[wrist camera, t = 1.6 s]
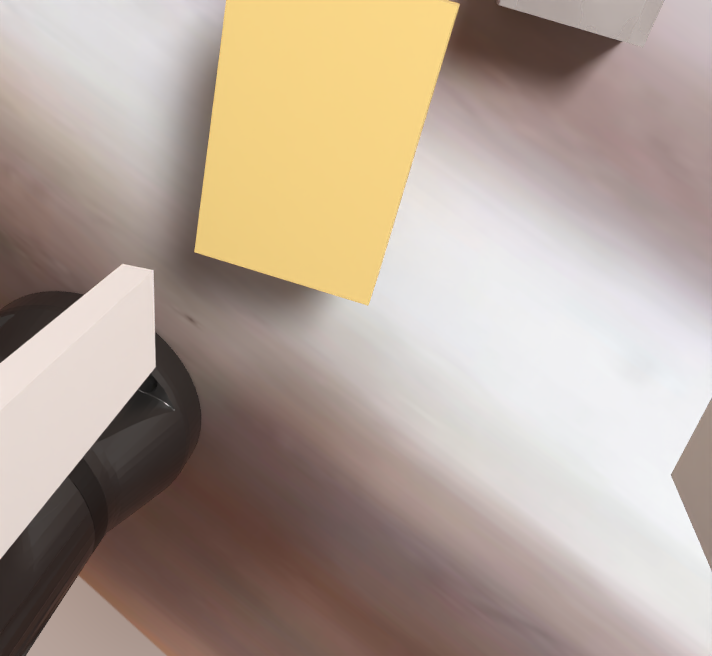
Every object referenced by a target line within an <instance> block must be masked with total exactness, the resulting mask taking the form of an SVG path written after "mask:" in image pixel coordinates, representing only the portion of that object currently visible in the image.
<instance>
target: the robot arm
mask: <svg viewBox="0 0 712 656" xmlns="http://www.w3.org/2000/svg"><path fill="white" fill-rule="evenodd" d="M200 428H201V410H200V404H199V399H198V395H197V392H196V389H195V387H194V384H193V382H192V379H191V377H190V375H189V373H188V372H187V370H186V368H185V367H184V365H183V363H182V362H181V360H180V359H179V358H178V356H177V355H176V354H175V352H174V351H173V350H172V349H171V348H170V346H169V345H168V344H167V343H166V342H165V341H164V340H163V339H162V338H161V337H160V336H159V335H158V334H157V333H156V332H155V314H154V270H150V269H145V268H140V267H135V266H130V265H125V264H122V265H120V266H119V267H118V268H117V269H116V270H114V271H113V272H112V273H111V274H109V275H108V276H107V277H106V278H105V279H103V280H102V281H101V282H100V283H98V284H97V285H96V286H95V287H93V288H92V289H91V290H90V291H89V292H87V293H86V294H85V295H82V294H77V293H71V292H60V291H51V292H40V293H35V294H31V295H27V296H24V297H21V298H19V299H17V300H15V301H13V302H11V303H10V304H8V305H6V306H5V307H4V308H2V309H1V310H0V656H26V654H27V653H28V651H29V650H30V648H31V647H32V645H33V644H34V642H35V640H36V639H37V637H38V636H39V634H40V633H41V631H42V630H43V628H44V627H45V625H46V623H47V622H48V620H49V619H50V618H51V616H52V614H53V613H54V611H55V610H56V608H57V607H58V605H59V604H60V602H61V601H62V599H63V598H64V596H65V595H66V593H67V591H68V590H69V588H70V587H71V585H72V584H73V582H74V581H75V579H76V578H77V576H78V575H79V573H80V572H81V570H82V569H83V567H84V565H85V564H86V562H87V561H88V559H89V558H90V556H91V555H92V553H93V552H94V550H95V549H96V547H97V546H98V544H99V543H100V541H101V540H102V539H103V537H104V536H105V534H106V533H107V532H109V531H110V530H111V529H113V528H114V527H115V526H117V525H118V524H119V523H121V522H122V521H123V520H125V519H126V518H127V517H129V516H130V515H131V514H133V513H134V512H135V511H137V510H138V509H139V508H141V507H142V506H143V505H145V504H146V503H147V502H149V501H150V500H151V499H152V498H154V497H155V496H156V495H158V494H159V493H160V492H162V491H163V490H164V489H166V488H167V487H168V486H169V485H170V484H171V483H172V482H173V481H174V480H175V478H176V477H177V476H178V475H179V473H180V472H181V470H182V469H183V467H184V465H185V464H186V462H187V460H188V459H189V457H190V455H191V454H192V452H193V450H194V448H195V446H196V444H197V441H198V438H199V434H200ZM671 476H672V479H673V481H674V483H675V486H676V488H677V490H678V493H679V495H680V497H681V500H682V502H683V504H684V507H685V509H686V511H687V514H688V516H689V519H690V521H691V523H692V526H693V528H694V530H695V533H696V535H697V537H698V540H699V542H700V544H701V547H702V549H703V551H704V554H705V556H706V558H707V561H708V563H709V565H710V568H711V570H712V399H711V400H710V402H709V404H708V406H707V408H706V410H705V412H704V414H703V415H702V417H701V419H700V421H699V423H698V425H697V427H696V429H695V431H694V432H693V434H692V436H691V438H690V440H689V442H688V444H687V446H686V447H685V449H684V451H683V453H682V455H681V457H680V459H679V461H678V462H677V464H676V466H675V468H674V470H673V472H672V474H671Z"/></svg>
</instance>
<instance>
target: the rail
mask: <svg viewBox="0 0 712 656" xmlns="http://www.w3.org/2000/svg"><path fill="white" fill-rule="evenodd" d="M663 2H664V0H497V2H496V3H497V4H498V5H500V6H504V7H507V8H511V9H514V10H517V11H521V12H524V13H528V14H531V15H534V16H538V17H541V18H545V19H548V20H551V21H555V22H558V23H561V24H565V25H568V26H572V27H575V28H578V29H582V30H585V31H589V32H592V33H595V34H599V35H602V36H606V37H609V38H612V39H616V40H619V41H622V42H626V43H629V44H633V45H636V46H639V47H644V44H645V42H646V40H647V38H648V36H649V33H650V31H651V29H652V27H653V25H654V22H655V20H656V18H657V16H658V13H659V11H660V9H661V7H662V5H663Z"/></svg>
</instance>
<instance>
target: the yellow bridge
mask: <svg viewBox="0 0 712 656" xmlns="http://www.w3.org/2000/svg"><path fill="white" fill-rule="evenodd" d="M459 6H460V4H459V3H455V2H452V1H449V0H226V6H225V14H224V22H223V30H222V38H221V46H220V54H219V62H218V69H217V77H216V85H215V93H214V101H213V109H212V117H211V125H210V133H209V140H208V148H207V156H206V164H205V172H204V180H203V188H202V196H201V203H200V211H199V219H198V227H197V235H196V243H195V251H194V252H195V253H199V254H202V255H205V256H208V257H212V258H215V259H218V260H221V261H225V262H228V263H231V264H234V265H238V266H241V267H244V268H248V269H251V270H254V271H257V272H261V273H264V274H267V275H270V276H274V277H277V278H280V279H283V280H287V281H290V282H293V283H296V284H300V285H303V286H306V287H309V288H313V289H316V290H319V291H322V292H326V293H329V294H332V295H336V296H339V297H342V298H345V299H349V300H352V301H355V302H358V303H362V304H365V305H369V302H370V299H371V296H372V293H373V290H374V287H375V284H376V281H377V278H378V275H379V271H380V268H381V265H382V261H383V258H384V255H385V251H386V248H387V245H388V242H389V238H390V235H391V232H392V228H393V225H394V222H395V218H396V215H397V212H398V208H399V205H400V202H401V198H402V195H403V192H404V188H405V185H406V182H407V178H408V175H409V172H410V168H411V165H412V162H413V158H414V155H415V152H416V149H417V145H418V142H419V139H420V135H421V132H422V129H423V125H424V122H425V119H426V115H427V112H428V109H429V105H430V102H431V99H432V95H433V92H434V89H435V85H436V82H437V79H438V75H439V72H440V69H441V66H442V62H443V59H444V56H445V52H446V49H447V46H448V42H449V39H450V36H451V32H452V29H453V26H454V22H455V19H456V16H457V12H458V9H459Z"/></svg>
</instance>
